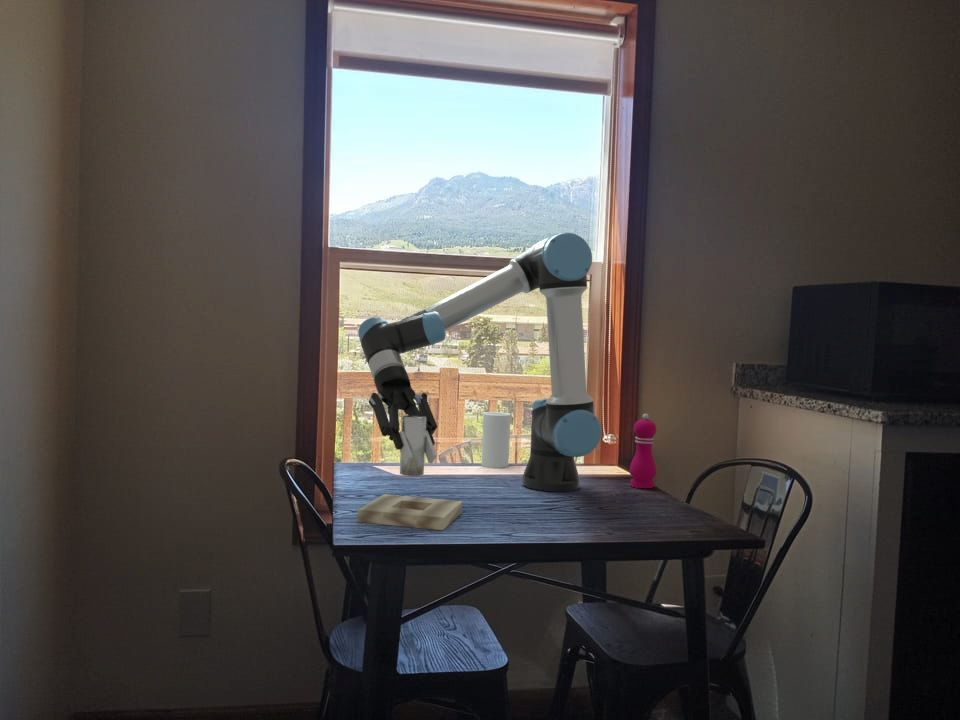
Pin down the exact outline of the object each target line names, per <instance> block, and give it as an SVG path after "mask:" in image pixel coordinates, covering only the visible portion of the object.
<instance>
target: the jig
mask: <svg viewBox="0 0 960 720" xmlns="http://www.w3.org/2000/svg"><path fill="white" fill-rule="evenodd" d="M356 513H357V514H356V517H357V519H356V522H357V523H366V524H374V525H375V524H377V525H385V526H386V525H388V526H395V527H397V526H398V527H407V528H415V529H416V528H417V529H426V530H435V531H436V530H437V531H444V530H445V529H446V528H447V527H448V526H450V525H451V523H453V522H454V521H455V520H456V519H457V518H458V517H459V516H460V515H461V514H462V513H463V500H454V499H453V500H452V499H445V498H444V499H442V498H441V499H440V498H430V497H419V496H410V495H409V496H408V495H398V494H388V493H387V494H386V493H385V494H382V495H380V496H379V497H377V498H375V499H373V500H372V501H370V502H369V503H367V504H365V505H363V506H361V507H360V508H357V512H356Z"/></svg>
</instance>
